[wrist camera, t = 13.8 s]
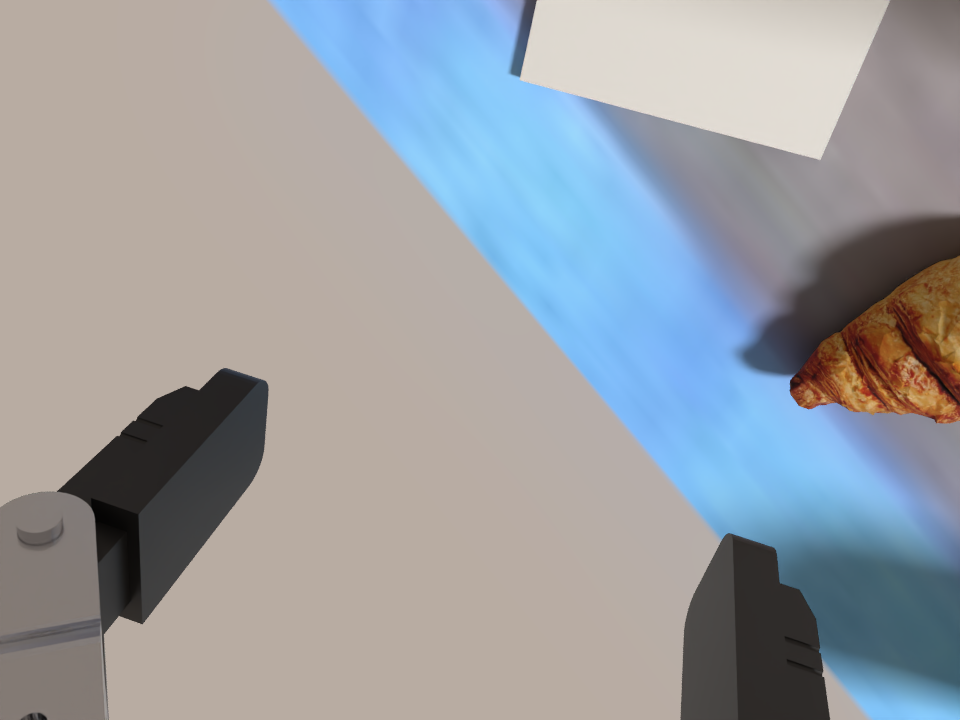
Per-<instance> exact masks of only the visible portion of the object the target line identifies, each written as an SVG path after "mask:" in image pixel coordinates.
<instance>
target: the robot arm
mask: <svg viewBox="0 0 960 720" xmlns="http://www.w3.org/2000/svg"><path fill="white" fill-rule="evenodd" d="M267 404H268V384H267V382H266V381H264V380H261V379H258V378H255V377H252V376H249V375H246V374H243V373H240V372H237V371H233V370H230V369H227V368H224V369H221V370H220V371H219V372H217V373H216V374H215V375H214V376H213V377H212V378H211V379H210V380H209V381H208V382H207V383H206V384H205V385H204V386H203V387H202V388H201V389H200V390H196V389H193V388H190V387H187V386H185V387H183V388H180V389H178V390H176V391H173V392H171V393H169V394H167V395H164V396H162V397H160V398H157V399H156V400H155V401H154V402H153V403H152V404H151V405H150V406H149V407H148V408H146V409H145V410H144V411H143V412H142V413H141V414H140V415H139V416H138V417H137V420H136V421H132V423H130V424H129V425H128V426H127V427H126V428H125V429H124V430H123V431H122V432H121V435H120V436H116V437H115V438H114V439H113V440H112V441H111V442H110V443H109V444H108V445H107V446H106V447H105V448H104V449H102V450H101V451H100V452H99V453H98V454H97V455H96V456H95V457H94V458H93V459H92V460H91V461H89V462H88V463H87V464H86V465H85V466H84V467H83V468H82V469H81V470H80V471H79V472H78V473H77V474H76V475H74V476H73V477H72V478H71V479H70V480H69V481H68V482H67V483H66V484H65V485H64V486H62V487H61V488H60V489H59V490H58V491H57V492H38V493H32V494H28V495H25V496H21V497H19V498H16V499H14V500H12V501H10V502H8V503H6V504H5V505H3V506H2V507H0V720H109V714H108V696H107V679H106V662H105V646H104V634H105V632H106V631H107V630H108V629H109V627H110V626H111V625H112V624H113V622H114V621H115V620H116V619H117V617H118V616H121V617H124V618H126V619H129V620H132V621H135V622H138V623H140V624H143V623H144V622H145V620H146V619H147V618H148V617H149V615H150V614H151V613H152V611H153V610H154V609H155V607H156V606H157V605H158V604H159V602H160V601H161V600H162V598H163V597H164V596H165V594H166V593H167V592H168V591H169V589H170V588H171V586H172V585H173V584H174V583H175V581H176V580H177V579H178V578H179V576H180V575H181V573H182V572H183V571H184V570H185V568H186V567H187V566H188V565H189V563H190V562H191V561H192V559H193V558H194V557H195V555H196V554H197V553H198V551H199V550H200V549H201V548H202V546H203V545H204V544H205V542H206V541H207V540H208V539H209V537H210V536H211V535H212V533H213V532H214V531H215V529H216V528H217V527H218V526H219V524H220V523H221V522H222V520H223V519H224V518H225V516H226V515H227V514H228V512H229V511H230V510H231V509H232V507H233V506H234V505H235V503H236V502H237V501H238V500H239V498H240V497H241V496H242V494H243V493H244V492H245V490H246V489H247V488H248V486H249V485H250V484H251V482H252V481H253V479H254V477H255V475H256V473H257V471H258V469H259V466H260V463H261V461H262V457H263V452H264V444H265V431H266V430H265V429H266V416H267ZM819 649H820V644H819V637H818V630H817V623H816V618H815V617H814V615H813V613H812V611H811V609H810V608H809V606H808V604H807V602H806V601H805V599H804V597H803V595H802V593H801V592H800V590H798V589H795V588H792V587H789V586H786V585H783V584H780V582H779V572H778V561H777V553H776V550H775V549H774V548H773V547H770V546H767V545H764V544H761V543H758V542H755V541H752V540H749V539H746V538H742V537H739V536H736V535H733V534H730V533H728V534H726V535H725V537H724V538H723V539H722V541H721V543H720V545H719V547H718V549H717V551H716V553H715V555H714V557H713V558H712V560H711V563H710V564H709V566H708V568H707V570H706V572H705V574H704V576H703V578H702V580H701V582H700V584H699V585H698V587H697V589H696V591H695V593H694V595H693V598H692V600H691V603H690V606H689V609H688V613H687V618H686V622H685V629H684V647H683V674H682V701H681V720H830V717H829V709H828V702H827V695H826V687H825V680H824V677H822V673H823V666H822V659H821V653H819Z"/></svg>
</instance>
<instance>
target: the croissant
mask: <svg viewBox="0 0 960 720" xmlns="http://www.w3.org/2000/svg"><path fill="white" fill-rule="evenodd" d="M790 394H791V396H792V397H793V398H794V400H795V401H796V402H797V404H798V406H801V407H803V408H807V409H812V408H814V407H816V406H818V405H827V404H830V403H838V404H840V405H842V406H844V407H846V408H847V409H848V410H849V411H853V412H861V411H862V412H868V413H870V414H872V415H874V413H891V412H894V413H897V414H900V415H902V414H906V413H915V414H919V415H923V416H926V417H929V418H932V419H934V420H935V422H936V423H953V422H956V421H960V255H959V256H957V257H956V258H953V259H949V260H944V261H939V262H937V263H936V264H934V265H932V266H930V267H928V268H926V269H924V270H923V271H921V272H920V273H918V274H916V275H915V276H913V277H912V278H910V279H908V280H907V281H905V282H904V283H902V284H901V285H900V286H898V287H897V288H896V289H895V290H894V291H893V292H892V293H891V294H890V295H888V296H887V297H886V298H884V299H883V300H881V301H879V302H877V303H876V304H874V305H873V306H871V307H870V308H869V309H868V310H867V311H865V312H864V313H863V314H861V315H860V316H859V317H857V318H856V319H855V320H853V321H852V322H850V323H849V324H848V325H847V326H846V327H845V328H844V329H843V330H842V331H841V332H838V333H834V334H833V335H831V336H830V337H828V338H827V339H825V340H823V341H822V342H821V343H820V345H819V346H818V348H817V349H816V350H815V351H814V352H813V353H812V355H811V356H810V357H809V359H808V360H807V361H806V363H805V364H804V365H803V367H802V368H801V369H800V371H799V372H798V373H797V374H796V375H795V376H794V377H793V378H792V379H791V380H790Z"/></svg>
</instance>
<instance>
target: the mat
mask: <svg viewBox="0 0 960 720" xmlns="http://www.w3.org/2000/svg"><path fill="white" fill-rule="evenodd" d="M889 2H890V0H537V2H536V7H535V12H534V16H533V21H532V26H531V30H530V35H529V39H528V44H527V49H526V53H525V58H524V63H523V67H522V72H521V76H520V80H521V81H525V82H528V83H532V84H536V85H540V86H543V87H547V88H551V89H555V90H558V91H562V92H566V93H570V94H574V95H577V96H581V97H585V98H589V99H592V100H596V101H600V102H604V103H608V104H611V105H615V106H619V107H623V108H626V109H630V110H634V111H638V112H641V113H645V114H649V115H653V116H657V117H660V118H664V119H668V120H672V121H675V122H679V123H683V124H687V125H691V126H694V127H698V128H702V129H706V130H709V131H713V132H717V133H721V134H724V135H728V136H732V137H736V138H740V139H743V140H747V141H751V142H755V143H758V144H762V145H766V146H770V147H773V148H777V149H781V150H785V151H789V152H792V153H796V154H800V155H804V156H807V157H811V158H815V159H819V160H820V159H821V157H822V155H823V152H824V150H825V148H826V146H827V143H828V141H829V139H830V136H831V134H832V132H833V130H834V127H835V125H836V123H837V120H838V118H839V116H840V114H841V111H842V109H843V107H844V105H845V102H846V100H847V98H848V95H849V93H850V91H851V89H852V86H853V84H854V82H855V79H856V77H857V75H858V73H859V70H860V68H861V66H862V63H863V61H864V59H865V57H866V54H867V52H868V50H869V47H870V45H871V43H872V41H873V38H874V36H875V34H876V31H877V29H878V27H879V25H880V22H881V20H882V18H883V15H884V13H885V11H886V9H887V6H888V4H889Z"/></svg>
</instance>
